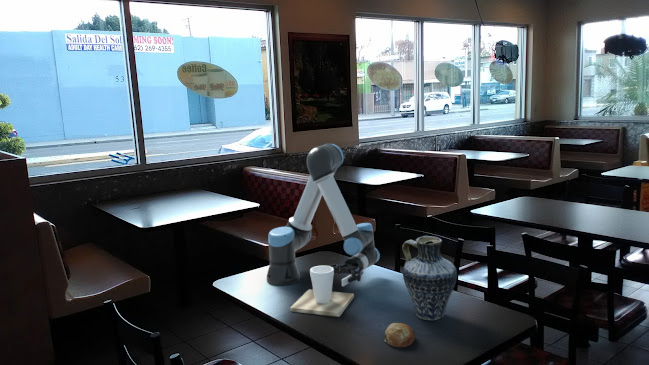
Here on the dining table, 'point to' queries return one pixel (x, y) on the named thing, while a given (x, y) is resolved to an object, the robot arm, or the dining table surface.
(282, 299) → the dining table surface
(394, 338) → the bread roll
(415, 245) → the jug
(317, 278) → the foam cup
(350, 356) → the dining table surface
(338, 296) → the serving board
